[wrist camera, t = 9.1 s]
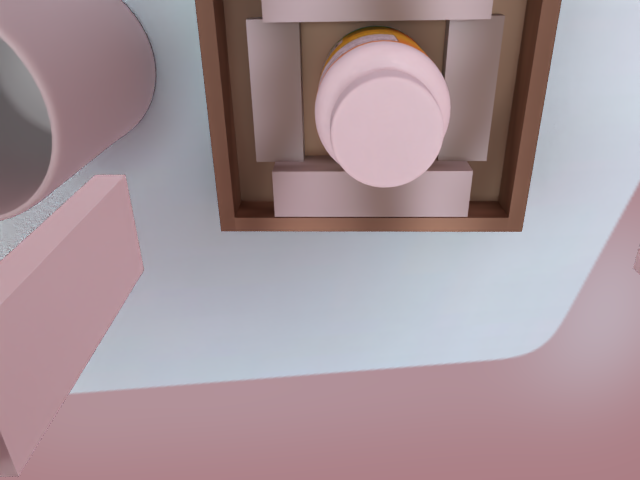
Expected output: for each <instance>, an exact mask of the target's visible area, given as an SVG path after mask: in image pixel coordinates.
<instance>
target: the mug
mask: <svg viewBox="0 0 640 480" xmlns="http://www.w3.org/2000/svg"><path fill="white" fill-rule="evenodd" d="M155 79H156V73H155V62H154V56H153V52H152V49H151V45H150V43H149V40H148V38H147V35H146V33H145V31H144V30H143V28H142V26H141V24H140V22H139V21H138V20H137V18H136V17H135V15H134V14H133V13H132V12H131V10H130V9H129V8H128V7H127V6H126V5H125V4H124V3H123V2H122V1H121V0H0V221H1V220H5V219H8V218H12V217H14V216H16V215H18V214H21V213H23V212H25V211H27V210H28V209H30V208H31V207H33V206H34V205H36V204H37V203H39V202H40V201H41V200H43V199H44V198H45V197H47V196H48V195H49V194H50V193H52V192H53V191H54V190H55V189H57V188H58V187H59V186H60V185H62V184H63V183H64V182H65V181H67V180H68V179H69V178H70V177H72V176H73V175H74V174H75V173H77V172H78V171H79V170H80V169H82V168H83V167H84V166H85V165H87V164H88V163H89V162H90V161H92V160H93V159H94V158H95V157H97V156H98V155H99V154H100V153H102V152H103V151H104V150H105V149H107V148H108V147H109V146H110V145H112V144H113V143H114V142H116V141H117V140H119V139H120V138H121V137H123V136H124V135H126V134H127V133H128V132H129V131H131V130H132V129H133V128H134V127H135V126H136V125H137V124H138V123H139V121H140V120H141V119H142V118H143V116H144V115H145V113H146V111H147V110H148V108H149V105H150V103H151V100H152V97H153V93H154V88H155Z"/></svg>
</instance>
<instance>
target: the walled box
mask: <svg viewBox="0 0 640 480" xmlns="http://www.w3.org/2000/svg"><path fill="white" fill-rule="evenodd" d="M195 5H196V14H197V23H198V31H199V40H200V49H201V58H202V67H203V75H204V84H205V93H206V102H207V110H208V119H209V128H210V137H211V146H212V154H213V163H214V172H215V181H216V189H217V198H218V207H219V216H220V225H221V231H429V232H522V228H523V222H524V216H525V210H526V204H527V198H528V193H529V187H530V181H531V175H532V169H533V163H534V158H535V152H536V146H537V140H538V134H539V129H540V123H541V117H542V111H543V105H544V99H545V94H546V88H547V82H548V76H549V70H550V64H551V59H552V53H553V47H554V41H555V35H556V29H557V24H558V18H559V12H560V6H561V0H195ZM367 26H387V27H391V28H394V29H397V30H399V31H401V32H403V33H405V34H406V35H408V36H409V37H410V38H412V39H413V40H414V41H415V42H416V43H417V44H418V45H419V46H420V48H421V49H422V50H423V51H424V52H425V53H426V55H427V56H428V57H429V58H430V59H431V60H432V61H433V62H434V64H435V65H436V66H437V68H438V69H439V70H440V72H441V74H442V76H443V78H444V80H445V82H446V84H447V87H448V91H449V95H450V105H451V110H450V120H449V124H448V128H447V131H446V134H445V136H444V138H443V142H442V146H441V149H440V151H439V154H438V156H437V157H436V159H435V161H434V162H433V164H432V165H431V166H430V167H429V168H428V169H427V170H426V171H425V172H424V173H423V174H422V175H421V176H419V177H418V178H416V179H414V180H413V181H411V182H409V183H406V184H404V185H400V186H396V187H385V188H382V187H374V186H370V185H366V184H364V183H361V182H359V181H357V180H356V179H354V178H353V177H351V176H350V175H349V174H348V173H347V172H345V170H344V169H343V168H342V167H341V166H340V165H339V164H338V163H337V162H336V161H335V160H334V159H333V158H332V157H331V156H330V155H329V153H328V152H327V151H326V149H325V147H324V146H323V144H322V142H321V140H320V137H319V135H318V131H317V127H316V122H315V100H316V95H317V91H318V86H319V80H320V75H321V71H322V67H323V64H324V62H325V59H326V57H327V55H328V54H329V52H330V50H331V49H332V48H333V46H334V45H335V44H336V43H337V42H338V41H339V40H340V39H341V38H343V37H344V36H345V35H347V34H348V33H350V32H352V31H354V30H356V29H359V28H362V27H367Z"/></svg>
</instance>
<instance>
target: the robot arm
mask: <svg viewBox="0 0 640 480" xmlns="http://www.w3.org/2000/svg"><path fill="white" fill-rule="evenodd" d="M633 268H634V269H635V270H636V271H637V272H638V273H639V275H640V246H639V250H638V253H637V256H636V260H635V263H634V267H633ZM143 271H144V267H143V262H142V257H141V252H140V247H139V242H138V237H137V231H136V226H135V221H134V216H133V211H132V206H131V201H130V196H129V190H128V185H127V180H126V175H94V176H93V177H92V178H91V179H90V180H89V181H88V182H87V183H86V184H85V185H83V186H82V187H81V188H80V189H79V190H78V191H77V192H76V193H75V194H74V195H73V196H71V197H70V198H69V199H68V200H67V201H66V202H65V203H64V204H63V205H62V206H60V207H59V208H58V209H57V210H56V211H55V212H54V213H53V214H52V215H51V216H50V217H48V218H47V219H46V220H45V221H44V222H43V223H42V224H41V225H40V226H39V227H37V228H36V229H35V230H34V231H33V232H32V233H31V234H30V235H29V236H28V237H27V238H25V239H24V240H23V241H22V242H21V243H20V244H19V245H18V246H17V247H16V248H14V249H13V250H12V251H11V252H10V253H9V254H8V255H7V256H6V257H5V258H3V259H2V260H1V261H0V477H19V475H20V473H21V472H22V470H23V469H24V467H25V465H26V464H27V462H28V460H29V459H30V457H31V455H32V454H33V452H34V450H35V449H36V447H37V445H38V444H39V442H40V441H41V439H42V437H43V436H44V434H45V432H46V431H47V429H48V427H49V426H50V424H51V422H52V421H53V419H54V417H55V416H56V414H57V412H58V411H59V409H60V407H61V406H62V404H63V403H64V401H65V399H66V398H67V396H68V394H69V393H70V391H71V389H72V388H73V386H74V384H75V383H76V381H77V380H78V378H79V376H80V375H81V373H82V371H83V370H84V368H85V366H86V365H87V363H88V361H89V360H90V358H91V356H92V355H93V353H94V352H95V350H96V348H97V347H98V345H99V343H100V342H101V340H102V338H103V337H104V335H105V333H106V332H107V330H108V328H109V327H110V325H111V324H112V322H113V320H114V319H115V317H116V315H117V314H118V312H119V310H120V309H121V307H122V305H123V304H124V302H125V300H126V299H127V297H128V295H129V294H130V292H131V291H132V289H133V287H134V286H135V284H136V282H137V281H138V279H139V277H140V276H141V274H142V272H143Z"/></svg>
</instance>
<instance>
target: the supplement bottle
mask: <svg viewBox="0 0 640 480" xmlns="http://www.w3.org/2000/svg"><path fill="white" fill-rule="evenodd" d="M450 110H451V105H450V95H449V91H448V87H447V84H446V82H445V80H444V78H443V76H442V74H441V72H440V70H439V69H438V68H437V66H436V65H435V64H434V62H433V61H432V60H431V59H430V58H429V57H428V56H427V55H426V53H425V52H424V51H423V50H422V49H421V48H420V46H419V45H418V44H417V43H416V42H415V41H414V40H413V39H412V38H410V37H409V36H408V35H406V34H405V33H403V32H401V31H399V30H397V29H394V28H391V27H387V26H367V27H362V28H359V29H356V30H354V31H352V32H350V33H348V34H347V35H345V36H344V37H343V38H341V39H340V40H339V41H338V42H337V43H336V44H335V45H334V46H333V48H332V49H331V50H330V52H329V54H328V55H327V57H326V59H325V62H324V64H323V67H322V71H321V75H320V80H319V86H318V91H317V95H316V100H315V122H316V127H317V131H318V135H319V137H320V140H321V142H322V144H323V146H324V147H325V149H326V151H327V152H328V153H329V155H330V156H331V157H332V158H333V159H334V160H335V161H336V162H337V163H338V164H339V165H340V166H341V167H342V168H343V169H344V170H345V172H347V173H348V174H349V175H350V176H351V177H353V178H354V179H356V180H357V181H359V182H361V183H364V184H366V185H370V186H374V187H382V188H385V187H396V186H400V185H404V184H406V183H409V182H411V181H413V180H414V179H416V178H418V177H419V176H421V175H422V174H423V173H424V172H425V171H426V170H427V169H428V168H429V167H430V166H431V165H432V164H433V162H434V161H435V159H436V157H437V156H438V154H439V151H440V149H441V146H442V142H443V138H444V136H445V134H446V131H447V128H448V124H449V120H450Z"/></svg>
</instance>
